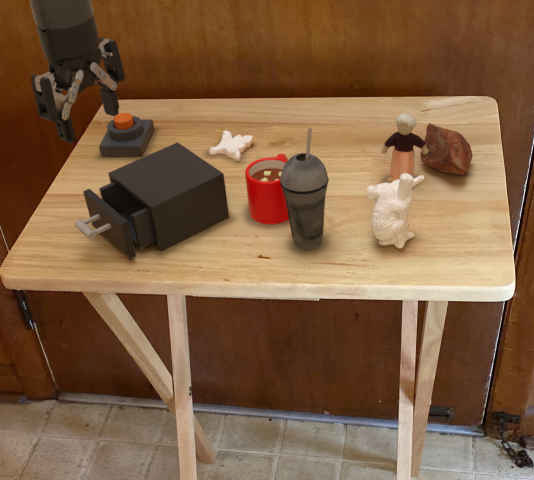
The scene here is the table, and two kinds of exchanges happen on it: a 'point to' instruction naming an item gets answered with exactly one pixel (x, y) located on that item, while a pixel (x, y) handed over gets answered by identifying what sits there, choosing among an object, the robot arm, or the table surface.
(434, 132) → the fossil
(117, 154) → the control block
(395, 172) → the grandmother figurine
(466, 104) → the table surface
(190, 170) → the cabinet
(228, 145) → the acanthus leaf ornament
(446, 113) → the table surface
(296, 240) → the beverage cup
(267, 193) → the mug
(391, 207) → the white rabbit figurine
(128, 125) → the button
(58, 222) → the table surface
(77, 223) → the drawer
